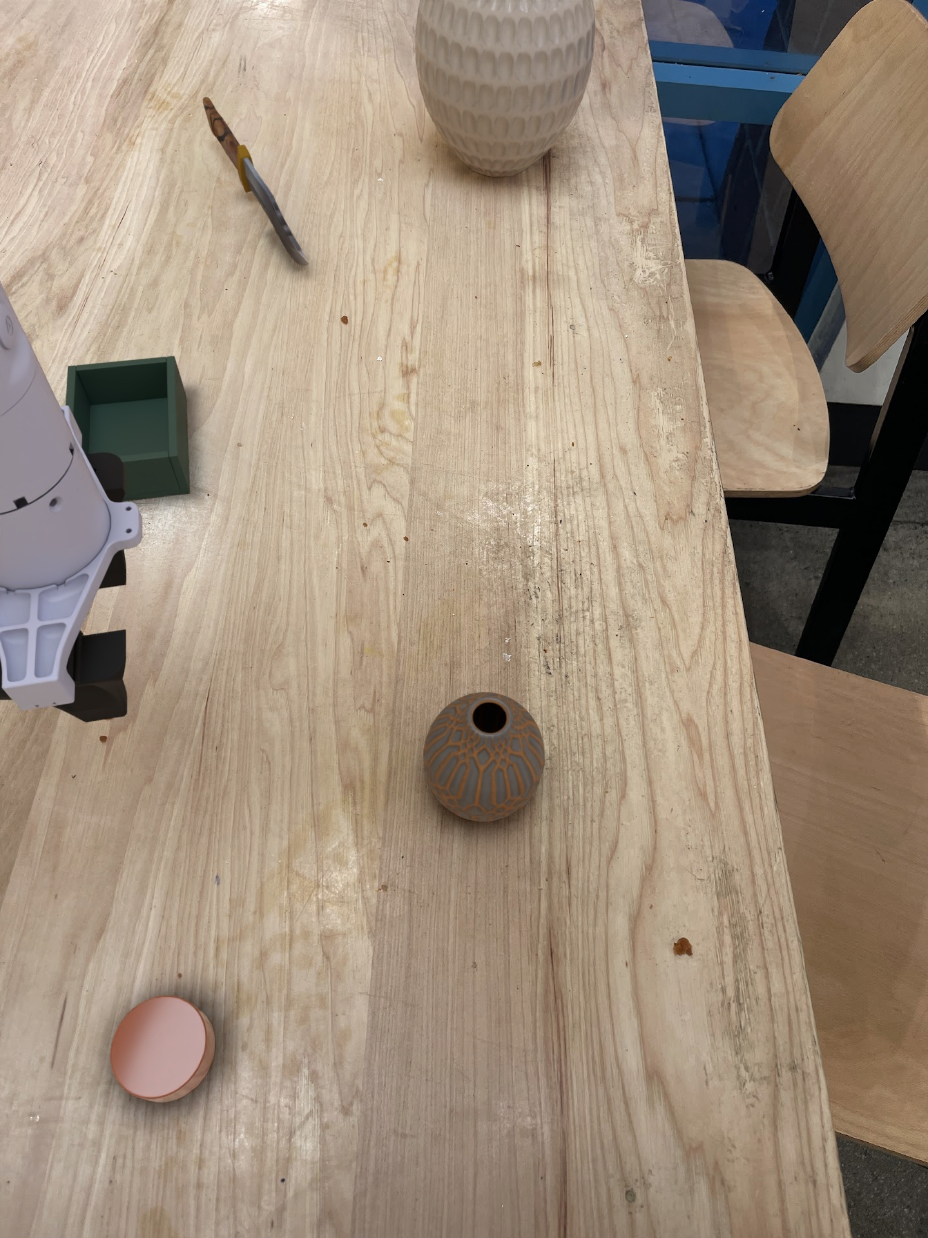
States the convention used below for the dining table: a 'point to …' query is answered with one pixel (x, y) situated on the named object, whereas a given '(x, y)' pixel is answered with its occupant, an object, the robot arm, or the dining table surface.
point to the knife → (252, 180)
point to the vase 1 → (503, 75)
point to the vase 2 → (483, 756)
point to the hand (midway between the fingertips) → (105, 644)
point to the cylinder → (162, 1049)
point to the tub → (135, 421)
